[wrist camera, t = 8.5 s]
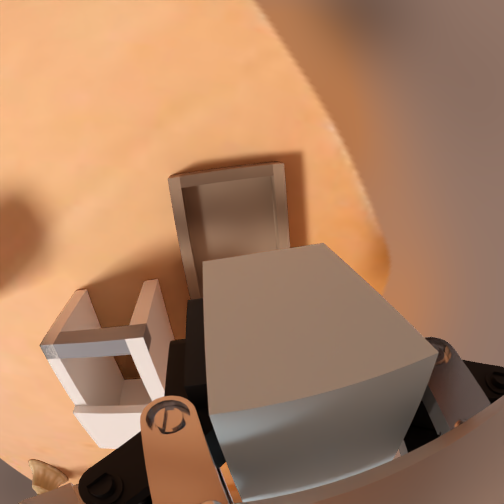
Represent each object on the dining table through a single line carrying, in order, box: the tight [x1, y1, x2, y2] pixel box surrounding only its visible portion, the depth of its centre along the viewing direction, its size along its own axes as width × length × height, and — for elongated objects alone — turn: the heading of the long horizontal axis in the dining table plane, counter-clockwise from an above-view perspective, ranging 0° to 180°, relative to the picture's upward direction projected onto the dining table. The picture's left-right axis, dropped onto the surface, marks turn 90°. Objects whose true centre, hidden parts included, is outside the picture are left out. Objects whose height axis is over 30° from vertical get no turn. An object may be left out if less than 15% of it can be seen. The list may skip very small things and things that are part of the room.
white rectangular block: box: [203, 243, 439, 502], centre depth 9 cm, size 14×4×6 cm, turn 6°
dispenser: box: [40, 279, 175, 449], centre depth 21 cm, size 12×8×9 cm, turn 6°
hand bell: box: [28, 460, 68, 495], centre depth 26 cm, size 8×8×16 cm
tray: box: [168, 161, 290, 300], centre depth 24 cm, size 18×8×2 cm, turn 6°
